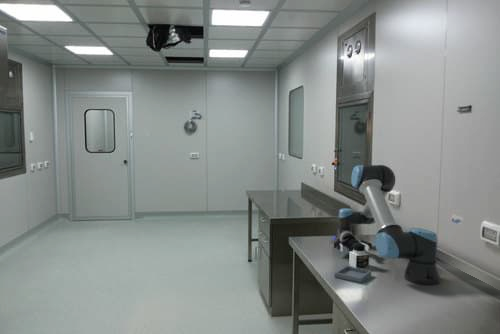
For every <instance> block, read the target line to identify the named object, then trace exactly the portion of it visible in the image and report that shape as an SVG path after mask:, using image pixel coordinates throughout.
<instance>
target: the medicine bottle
mask: <svg viewBox="0 0 500 334" xmlns="http://www.w3.org/2000/svg"><path fill="white" fill-rule="evenodd" d="M352 248H353V249H352V251H349V255H348V256H349V262H348V266H351V267H355V268H360V269H369V266H370V254H369V253H368V252H366V245H365V244H364V243H361V242H356V243H354V244H353V246H352Z"/></svg>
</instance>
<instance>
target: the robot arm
mask: <svg viewBox="0 0 500 334" xmlns="http://www.w3.org/2000/svg"><path fill="white" fill-rule="evenodd" d="M395 175H396V174H395V172H394V170H392V169H391V167H389V166H387V165H385V164H377V165H376V164H365V165H364V164H360V165H355V166H354V167H353V169H352V173H351V178H350V179H351V186H352V187H353V188H355V189H358V190H359V193H360V194H361V195H363V196H364V197H365V201H366V203H365V204H364V206H363V208H362V210H361V211H353V210H352V209H351V208H346V207H345V208H340V209H339V213H338V230H337V236H338V239H337V240H336V241H334V242H333V248H337V250H340V252H342V253H343V252H344V247H346V248H351V247H352V248H353V244H354V243H356V242H361V243H364V244H365V245H366V249H365V252H366V253H370V250H371V249H372V248H373V247H372V246H373V245H372V243H370V242H368V241H365V240H363V239H359V240H358V239H357V238H356V237H355V236H354V234H353V233H352V229H353V225H372V224H373V225H374V224H376V227H377V230H378V231H377V232H376V236H375V238H374V243H375V250H376V251H377V253H378V254H379V255H380V256H381V258H383V259H388V260H389V259H390V260H396V259H398V260H399V259H408V262H407V264H406V266H405V270H404V272H403V274H404V275H403V278H404V279H405V280H406V281H409V282H411V283H413V284H418V285H426V286H427V285H428V286H431V285H437V284H440V282H441V280H440V279H441V278H440V274H439V270H438V267H437V249H438V247H437V246H438V236H437V235H438V234H437V233H436V232H434V231H433V230H429V229H425V228H421V227H411V228H409V230H408V231H404V230H403V228H402V226H401V225H400V224H397V223H396V221H395V218H394V216H393V213H392V211H391V209H390V206H389V204H388V203H387V199H386V197H387V195H388V193H390V192H391V191H393V189H394V188H395V184H396V176H395Z"/></svg>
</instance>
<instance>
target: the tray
mask: <svg viewBox="0 0 500 334" xmlns="http://www.w3.org/2000/svg"><path fill="white" fill-rule="evenodd" d="M371 277H372V270H368V269H366V268H363V269H360V268H355V267H352V266H350V265H345V266H343V267H342V268H340V269H338V270H337V271H335V272H334V278H335V279H339V280H343V281H347V282H352V283H355V284H358V285H359V284H360V285H361V284H362V283H364V282H366V281H367V280H368V279H369V278H371Z"/></svg>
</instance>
